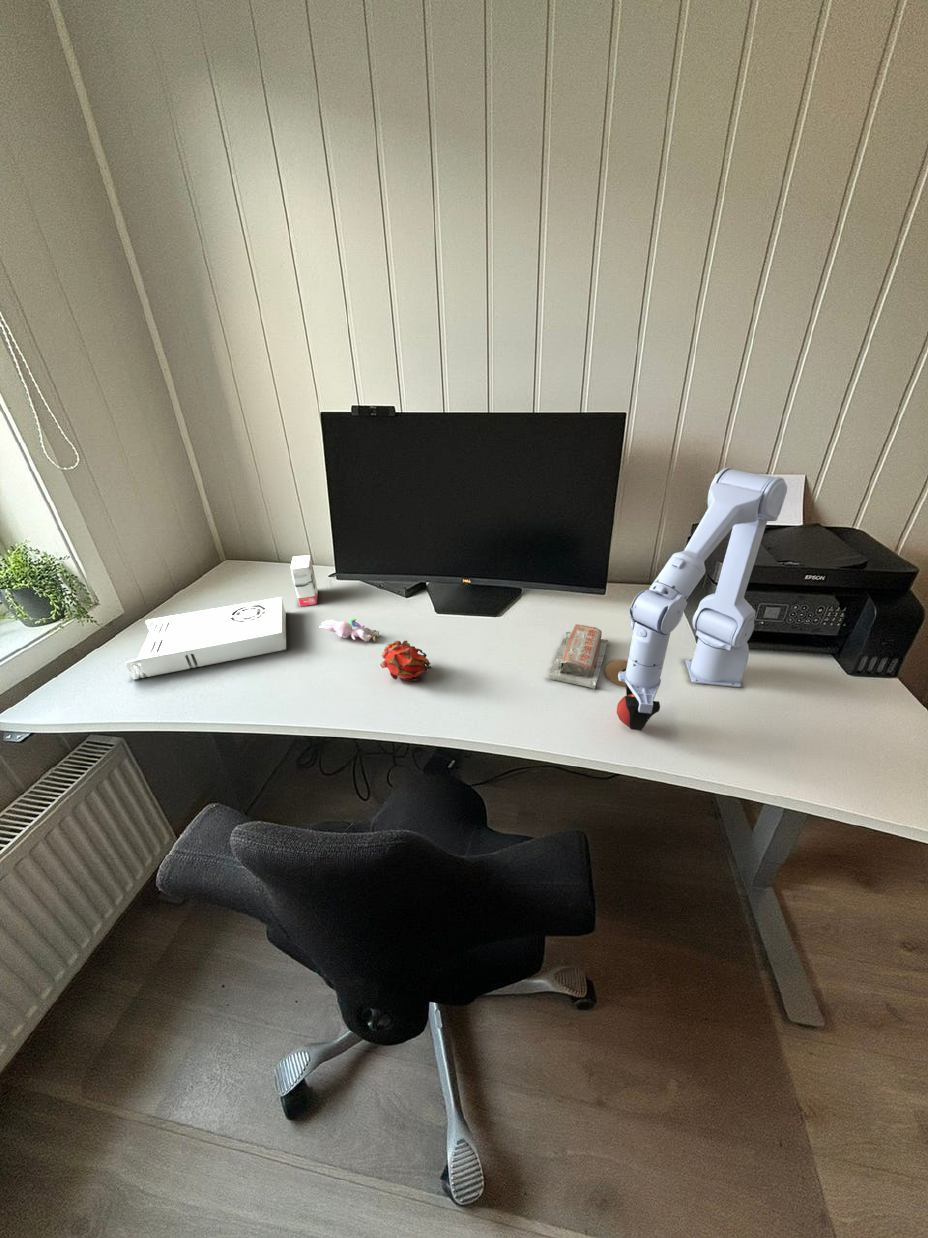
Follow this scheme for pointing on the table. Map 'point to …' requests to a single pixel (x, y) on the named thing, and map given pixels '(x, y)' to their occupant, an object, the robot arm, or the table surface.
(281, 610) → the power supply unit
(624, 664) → the coaster
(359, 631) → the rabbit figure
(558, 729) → the table surface
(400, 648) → the dragon fruit
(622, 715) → the onion
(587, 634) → the packaged product
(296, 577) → the ink box
